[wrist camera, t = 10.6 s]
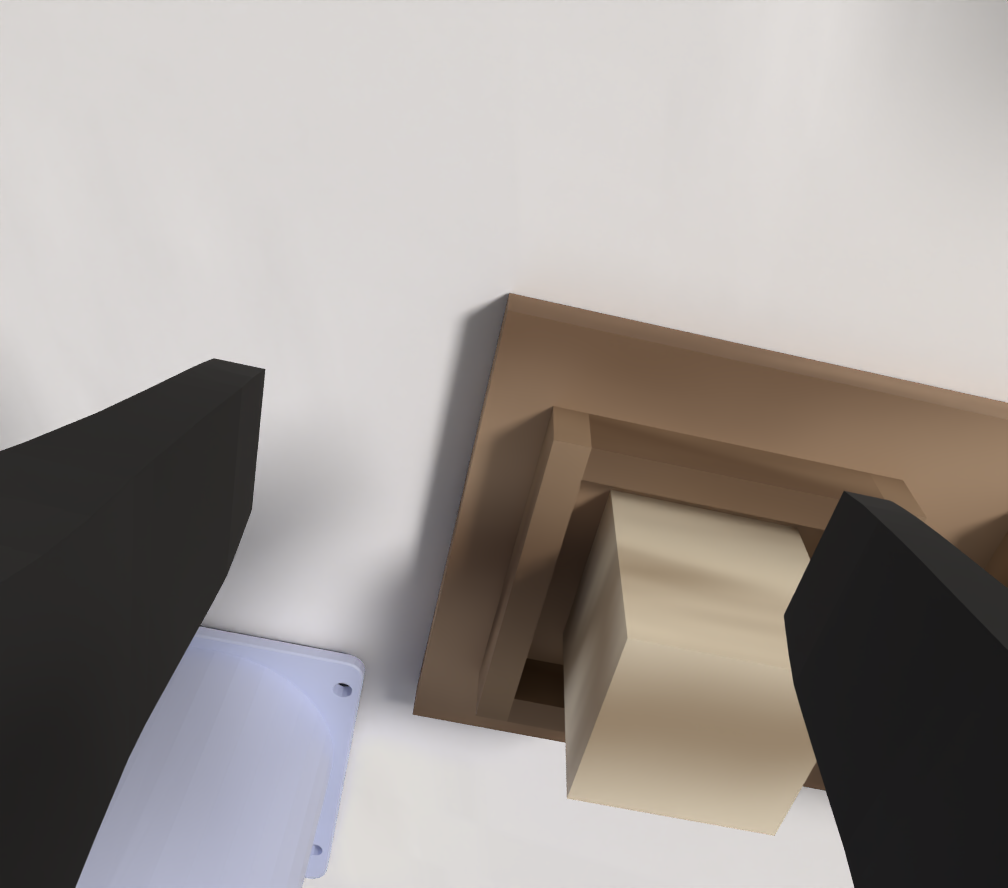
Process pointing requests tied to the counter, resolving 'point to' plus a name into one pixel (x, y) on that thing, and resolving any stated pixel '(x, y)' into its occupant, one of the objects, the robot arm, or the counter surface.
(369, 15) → the counter surface
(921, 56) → the counter surface
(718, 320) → the counter surface
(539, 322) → the puzzle board
